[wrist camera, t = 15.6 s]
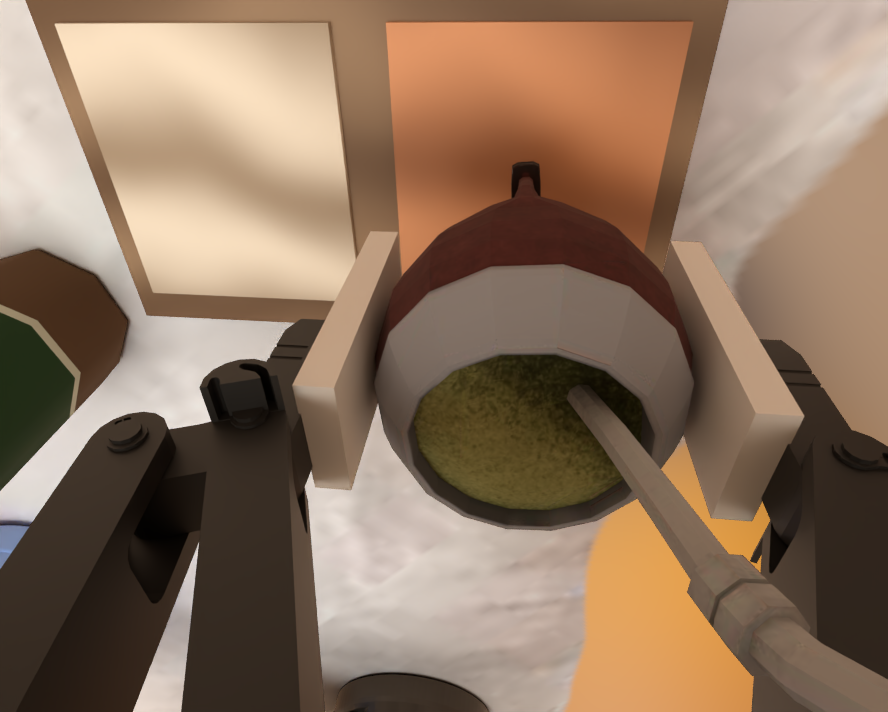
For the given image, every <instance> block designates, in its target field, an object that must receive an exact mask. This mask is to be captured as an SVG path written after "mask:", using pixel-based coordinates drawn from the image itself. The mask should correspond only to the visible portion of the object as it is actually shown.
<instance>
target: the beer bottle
mask: <svg viewBox="0 0 888 712" xmlns="http://www.w3.org/2000/svg"><path fill="white" fill-rule="evenodd" d="M127 321H128V320H127V319H126V317H125V316H124V315H123V313H122V312H121V311H120V309H119V308H118V306H117V305H116V304H115V302H114V301H113V299H112V298H111V297H110V295H109V294H108V293H107V291H106V290H105V288H104V287H103V286H102V284H101V283H100V282H99V280H98V279H97V277H96V276H95V275H93V274H90V273H88V272H86V271H84V270H82V269H80V268H77V267H75V266H73V265H71V264H69V263H67V262H64V261H62V260H60V259H58V258H56V257H53V256H51V255H49V254H47V253H45V252H43V251H40V250H32V251H29V252H25V253H22V254H18V255H15V256H11V257H8V258H5V259H1V260H0V491H1V490H2V488H3V487H4V486H5V485H6V484H7V483H8V482H9V481H10V480H11V479H12V478H13V477H14V476H15V475H16V474H17V473H18V471H19V470H20V469H21V468H22V467H23V466H24V465H25V464H26V463H27V462H28V461H29V460H30V459H31V458H32V457H33V456H34V455H35V453H36V452H37V451H38V450H39V449H40V448H41V447H42V446H43V445H44V444H45V443H46V442H47V441H48V440H49V439H50V438H51V437H52V435H53V434H54V433H55V432H56V431H57V430H58V429H59V428H60V427H61V426H62V425H63V424H64V423H65V422H66V421H67V420H68V419H69V417H70V416H71V415H72V414H73V413H74V412H75V411H76V410H77V409H78V408H79V407H80V406H81V405H82V404H83V403H84V402H85V401H86V399H87V398H88V397H89V396H90V395H91V394H92V393H93V392H94V391H95V390H96V389H97V388H98V387H99V386H100V385H101V384H102V382H103V381H104V380H105V379H106V378H107V376H108V375H109V374H110V373H111V371H112V370H113V369H114V368H115V366H116V365H117V364H118V363H119V361H120V356H121V351H122V346H123V341H124V337H125V332H126V327H127Z"/></svg>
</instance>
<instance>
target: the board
mask: <svg viewBox="0 0 888 712" xmlns="http://www.w3.org/2000/svg"><path fill="white" fill-rule="evenodd" d="M26 3H27V5H28V8H29V11H30V13H31V16H32V18H33V21H34V24H35V26H36V29H37V31H38V34H39V37H40V39H41V42H42V44H43V47H44V50H45V52H46V55H47V57H48V60H49V63H50V65H51V68H52V70H53V73H54V76H55V78H56V81H57V83H58V86H59V89H60V91H61V94H62V96H63V99H64V102H65V104H66V107H67V109H68V112H69V114H70V117H71V120H72V122H73V125H74V127H75V130H76V133H77V135H78V138H79V140H80V143H81V146H82V148H83V151H84V153H85V156H86V159H87V161H88V164H89V166H90V169H91V172H92V174H93V177H94V179H95V182H96V185H97V187H98V190H99V192H100V195H101V198H102V200H103V203H104V205H105V208H106V211H107V213H108V216H109V218H110V221H111V224H112V226H113V229H114V231H115V234H116V236H117V239H118V242H119V244H120V247H121V249H122V252H123V255H124V257H125V260H126V262H127V265H128V268H129V270H130V273H131V275H132V278H133V281H134V283H135V286H136V288H137V291H138V294H139V296H140V299H141V301H142V304H143V307H144V309H145V312H146V314H147V315H149V316H169V317H190V318H211V319H231V320H252V321H272V322H293V323H296V322H297V321H298V320H300V319H318V320H326V318H327V316H328V314H329V312H330V310H331V308H332V306H333V304H334V302H335V300H336V298H337V296H338V294H339V292H340V290H341V288H342V286H343V284H344V282H345V280H346V278H347V276H348V275H349V273H350V271H351V269H352V267H353V265H354V263H355V261H356V259H357V257H358V255H359V253H360V251H361V249H362V247H363V245H364V243H365V241H366V239H367V237H368V235H369V233H370V231H380V232H398V238H399V253H400V268H401V277H402V275H403V274H404V273H405V272H406V271H407V269H408V268H409V267H410V266H411V265H412V264H413V263H414V262H415V261H416V259H417V258H418V257H419V256H420V255H421V254H422V253H423V252H424V250H425V249H426V248H427V247H428V246H429V245H430V244H431V243H432V242H433V240H434V239H435V238H436V237H437V236H438V235H439V234H440V233H442V232H443V231H445V230H446V229H447V228H449V227H451V226H452V225H454V224H456V223H458V222H460V221H462V220H464V219H466V218H468V217H470V216H472V215H474V214H475V213H477V212H479V211H481V210H483V209H485V208H487V207H489V206H491V205H493V204H496V203H499V202H502V201H505V200H508V199H511V177H512V165H514V164H515V163H517V162H528V161H534V162H536V163H538V164H539V166H540V180H541V197H544V198H548V199H552V200H556V201H559V202H563V203H565V204H567V205H570V206H572V207H574V208H577V209H579V210H582V211H584V212H586V213H589V214H591V215H594V216H596V217H598V218H601V219H603V220H605V221H607V222H609V223H610V224H612V225H614V226H615V227H617V228H618V229H619V230H620V231H621V232H622V233H623V234H624V235H625V236H626V237H627V238H628V239H629V240H630V241H631V242H632V243H633V244H634V245H635V246H636V247H637V248H638V249H640V250H641V251H642V252H643V253H644V254H645V255H646V256H647V257H648V258H649V259H650V260H651V261H652V262H653V263H654V264H655V265H656V266H657V267H658V269H659V270H660V271H661V273H662V272H663V268H664V263H665V259H666V255H667V251H668V247H669V243H670V239H671V235H672V231H673V226H674V222H675V218H676V214H677V210H678V206H679V202H680V198H681V194H682V189H683V185H684V181H685V177H686V173H687V169H688V165H689V161H690V157H691V152H692V148H693V144H694V140H695V136H696V132H697V128H698V124H699V120H700V115H701V111H702V107H703V103H704V99H705V95H706V91H707V87H708V83H709V78H710V74H711V70H712V66H713V62H714V58H715V54H716V50H717V46H718V41H719V37H720V33H721V29H722V25H723V21H724V17H725V13H726V9H727V4H728V0H26Z"/></svg>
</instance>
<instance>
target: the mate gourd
mask: <svg viewBox="0 0 888 712" xmlns="http://www.w3.org/2000/svg"><path fill="white" fill-rule="evenodd" d="M692 358H693V354H692V350H691V346H690V343H689V339H688V335H687V332H686V329H685V326H684V324H683V321H682V318H681V315H680V313H679V310H678V307H677V304H676V302H675V299H674V296H673V293H672V291H671V288H670V285H669V283H668V281H667V280H666V279H665V277H664V276H663V274H662V273H661V271H660V270H659V269H658V267H657V266H656V265H655V264H654V263H653V262H652V261H651V260H650V259H649V258H648V257H647V256H646V255H645V254H644V253H643V252H642V251H641V250H640V249H638V248H637V247H636V246H635V245H634V244H633V243H632V242H631V241H630V240H629V239H628V238H627V237H626V236H625V235H624V234H623V233H622V232H621V231H620V230H619V229H618V228H617V227H615V226H614V225H612V224H610V223H609V222H607V221H605V220H603V219H601V218H598V217H596V216H594V215H591V214H589V213H586V212H584V211H582V210H579V209H577V208H574V207H572V206H570V205H567V204H565V203H563V202H559V201H556V200H552V199H548V198H544V197H541V180H540V166H539V164H538V163H536V162H534V161H528V162H517V163H515V164H514V165H512V177H511V199H508V200H505V201H502V202H499V203H496V204H493V205H491V206H489V207H487V208H485V209H483V210H481V211H479V212H477V213H475V214H474V215H472V216H470V217H468V218H466V219H464V220H462V221H460V222H458V223H456V224H454V225H452V226H451V227H449V228H447V229H446V230H445V231H443V232H442V233H440V234H439V235H438V236H437V237H436V238H435V239H434V240H433V242H432V243H431V244H430V245H429V246H428V247H427V248H426V249H425V250H424V252H423V253H422V254H421V255H420V256H419V257H418V258H417V259H416V261H415V262H414V263H413V264H412V265H411V266H410V267H409V268H408V269H407V271H406V272H405V273H404V274H403V275H402V277H401V278H400V280H399V281H398V283H397V284H396V286H395V287H394V289H393V291H392V294H391V298H390V301H389V304H388V308H387V311H386V315H385V318H384V321H383V325H382V328H381V332H380V336H379V340H378V344H377V349H376V354H375V364H376V377H375V380H374V386H375V391H376V395H377V400H378V405H379V409H380V414H381V419H382V424H383V428H384V432H385V434H386V436H387V439H388V441H389V443H390V445H391V447H392V449H393V450H394V451H395V453H396V454H397V455H398V457H399V458H400V459H401V461H402V462H403V463H404V465H405V466H406V467H407V469H408V470H409V471H410V472H411V474H412V475H413V476H414V478H415V479H416V480H417V482H418V483H419V484H420V485H421V487H422V488H423V489H424V491H425V492H426V493H427V494H428V495H430V496H432V497H433V498H435V499H436V500H438V501H439V502H441V503H443V504H444V505H446V506H447V507H449V508H451V509H452V510H454V511H455V512H457V513H458V514H460V515H462V516H464V517H467V518H470V519H474V520H477V521H481V522H484V523H488V524H491V525H495V526H498V527H501V528H505V529H522V530H549V531H552V530H556V529H561V528H566V527H570V526H575V525H580V524H584V523H589V522H593V521H597V520H599V519H601V518H603V517H604V516H606V515H608V514H610V513H612V512H614V511H615V510H617V509H619V508H621V507H623V506H625V505H626V504H628V503H630V502H632V501H634V500H635V499H638V500H639V502H640V503H641V504H642V506H643V508H644V509H645V511H646V512H647V514H648V515H649V516H650V518H651V519H652V521H653V522H654V524H655V526H656V527H657V529H658V530H659V532H660V533H661V535H662V536H663V538H664V539H665V541H666V542H667V544H668V545H669V547H670V549H671V550H672V552H673V553H674V555H675V556H676V558H677V559H678V561H679V562H680V564H681V565H682V567H683V569H684V570H685V572H686V573H687V575H688V576H689V578H690V579H691V581H690V584H689V588H688V591H687V593H688V594H689V595H690V597H691V598H692V599H693V601H694V602H695V604H696V605H697V606H698V608H699V609H700V611H701V612H702V613H703V614H704V616H705V617H706V619H707V620H708V621H709V623H710V624H711V625H712V627H713V628H714V629H715V631H716V632H717V633H718V635H719V636H720V637H721V639H722V640H723V641H724V643H725V644H726V645H727V647H728V648H729V649H730V650H731V652H732V653H733V654H734V655H735V656H736V658H737V659H738V660H739V661H740V662H741V664H742V665H743V666H744V667H745V668H746V670H747V671H748V672H749V673H750V674H751V675H752V676H770V677H771V678H772V679H773V680H774V681H775V682H776V683H777V684H778V685H779V686H780V687H781V688H782V689H783V690H784V691H785V692H786V693H787V694H788V695H790V696H791V697H792V698H793V699H794V700H795V701H796V702H798V703H800V704H801V705H803V706H804V707H806V708H808V709H809V710H811V711H812V712H888V679H886V678H884V677H882V676H880V675H879V674H877V673H875V672H873V671H871V670H869V669H868V668H866V667H864V666H862V665H860V664H858V663H857V662H855V661H853V660H851V659H849V658H847V657H846V656H844V655H842V654H840V653H838V652H836V651H835V650H833V649H831V648H829V647H827V646H825V645H824V644H822V643H820V642H819V641H818V640H817V639H815V638H814V637H813V636H812V635H810V634H809V631H810V626H809V625H808V623H807V622H806V620H805V619H804V617H803V616H802V614H801V613H800V612H799V610H798V609H797V607H796V606H795V605H794V604H793V603H792V602H791V601H790V600H789V599H788V598H786V597H785V596H784V595H783V594H782V593H781V592H780V591H779V590H778V589H777V588H776V587H775V586H773V585H772V584H769V582H768V581H767V579H766V578H765V577H764V576H763V575H762V574H761V573H760V572H759V571H758V570H757V569H756V568H755V567H754V566H753V565H752V564H751V563H750V562H749V561H748V560H747V559H746V558H745V557H744V556H743V555H730V554H728V552H727V551H726V550H725V549H724V547H722V545H721V544H720V542H719V541H718V540H717V539H716V538H715V536H714V535H713V534H712V532H711V531H710V530H709V529H708V527H707V526H706V525H705V524H704V522H703V521H702V520H701V519H700V517H699V516H698V515H697V514H696V513H695V511H694V510H693V509H692V508H691V506H690V505H689V504H688V502H687V501H686V500H685V499H684V497H683V496H682V495H681V494H680V493H679V491H678V490H677V489H676V488H675V486H674V485H673V484H672V483H671V481H670V480H669V479H668V478H667V477H666V475H665V474H664V473H663V472H662V470H661V468H662V467H663V465H664V464H665V463H666V461H667V460H668V459H669V457H670V456H671V455H672V453H673V452H674V450H675V448H676V447H677V445H678V443H679V442H680V440H681V438H682V436H683V434H684V429H685V424H686V420H687V415H688V410H689V406H690V401H691V396H692V392H693V387H694V380H693V377H692Z"/></svg>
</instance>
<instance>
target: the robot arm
mask: <svg viewBox="0 0 888 712" xmlns="http://www.w3.org/2000/svg"><path fill="white" fill-rule="evenodd" d="M663 276H664V277H665V279H666V280H667V281H668V283H669V285H670V288H671V291H672V293H673V296H674V299H675V302H676V304H677V307H678V310H679V313H680V315H681V318H682V321H683V324H684V326H685V329H686V332H687V335H688V339H689V343H690V346H691V350H692V354H693V358H692V377H693V380H694V387H693V392H692V396H691V401H690V406H689V410H688V415H687V420H686V424H685V429H684V437H685V440H686V444H687V447H688V450H689V452H690V456H691V459H692V462H693V465H694V468H695V471H696V474H697V477H698V480H699V483H700V486H701V489H702V492H703V495H704V498H705V501H706V504H707V507H708V510H709V513H710V516H711V518H716V519H729V520H743V521H752V520H753V519H754V516H755V514H756V513H757V510H758V509H759V507H760V505H761V502H762V501H763V504H764V506H765V508H766V511H767V513H768V515H769V517H770V522H769V524H768V526H767V528H766V530H765V532H764V534H763V536H762V537H761V539H760V541H759V543H758V545H757V547H756V549H755V551H754V552H753V555H752V557H751V560H750V561H751V562H754V563H757V561H758V560H759V558H760V556H761V555H762V559H761V574H762V575H763V576H764V577H765V578H766V579H767V581H768V582H769V584H772V585H773V586H775V587H776V588H777V589H778V590H779V591H780V592H781V593H782V594H783V595H784V596H785V597H786V598H788V599H789V600H790V601H791V602H792V603H793V604H794V605H795V606H796V607H797V609H798V610H799V612H800V613H801V614H802V616H803V617H804V619H805V620H806V622H807V623H808V625H809V626H810V631H809V634H810V635H812V636H813V637H814V638H815V639H817V640H818V641H819V642H820V643H822V644H824V645H825V646H827V647H829V648H831V649H833V650H835V651H836V652H838V653H840V654H842V655H844V656H846V657H847V658H849V659H851V660H853V661H855V662H857V663H858V664H860V665H862V666H864V667H866V668H868V669H869V670H871V671H873V672H875V673H877V674H879V675H880V676H882V677H884V678H886V679H888V446H886V445H884V444H883V443H881V442H879V441H877V440H876V439H874V438H872V437H870V436H867V435H865V434H862V433H859V432H856V431H852V430H851V429H850V427H849V426H848V424H847V423H846V421H845V420H844V418H843V417H842V415H841V414H840V412H839V411H838V409H837V408H836V406H835V405H834V403H833V402H832V401H831V399H830V397H829V396H828V395H827V393H826V391H825V390H824V389H823V388H821V387H820V385H821V384H820V382H819V381H818V380H817V378H816V377H815V375H814V374H812V371H811V369H810V368H809V366H808V365H807V363H806V362H805V360H804V359H803V357H802V356H801V355H800V354H799V353H798V352H796V351H795V350H794V349H792V348H791V347H790V346H788V345H787V344H786V343H784V342H783V341H781V340H761V339H758V337H757V335H756V334H755V332H754V330H753V329H752V327H751V325H750V324H749V322H748V320H747V319H746V317H745V315H744V314H743V312H742V310H741V308H740V307H739V305H738V303H737V302H736V300H735V298H734V297H733V295H732V293H731V292H730V290H729V288H728V287H727V285H726V283H725V282H724V280H723V278H722V277H721V275H720V273H719V271H718V270H717V268H716V266H715V265H714V263H713V261H712V260H711V258H710V256H709V255H708V253H707V251H706V250H705V248H704V246H703V245H702V243H701V242H682V241H670V245H669V249H668V253H667V257H666V262H665V266H664V270H663ZM400 278H401V268H400V253H399V238H398V232H380V231H370V233H369V235H368V237H367V239H366V241H365V243H364V245H363V247H362V249H361V251H360V253H359V255H358V257H357V259H356V261H355V263H354V265H353V267H352V269H351V271H350V273H349V275H348V276H347V278H346V280H345V282H344V284H343V286H342V288H341V290H340V292H339V294H338V296H337V298H336V300H335V302H334V304H333V306H332V308H331V310H330V312H329V314H328V316H327V318H326V320H318V319H300V320H298V321H297V322H296V323H294V324H293V325H292V326H290V327H289V328H288V329H286V330H285V332H284V333H283V335H282V337H281V338H280V340H279V342H278V343H277V347H275V348H274V350H273V352H272V353H271V355H270V358H268V360H267V362H265V361H260V360H256V359H245V360H237V361H233V362H230V363H226V364H224V365H222V366H220V367H218V368H216V369H214V370H213V371H211V372H210V373H209V374H208V375H207V376H206V377H205V378H204V379H203V381H202V384H201V386H200V390H201V393H202V396H203V399H204V402H205V404H206V407H207V410H208V413H209V416H210V418H211V421H212V422H208V423H204V424H200V425H194V426H188V427H182V428H176V429H170V430H169V429H168V427H167V424H166V422H165V420H164V418H162V417H161V416H159V415H157V414H156V413H148V412H139V413H132V414H127V415H124V416H122V417H119V418H116V419H113V420H112V421H110V422H109V423H107V424H105V425H104V426H102V427H101V428H99V430H98V431H97V432H96V433H95V434H94V435H93V436H92V437H91V438H90V439H89V441H88V442H87V444H86V445H85V447H84V448H83V450H82V451H81V452H80V454H79V455H78V457H77V458H76V460H75V461H74V463H73V464H72V466H71V467H70V468H69V470H68V471H67V473H66V474H65V476H64V477H63V479H62V480H61V482H60V483H59V484H58V486H57V487H56V489H55V490H54V492H53V493H52V495H51V496H50V498H49V499H48V500H47V502H46V503H45V505H44V506H43V508H42V509H41V511H40V512H39V513H38V515H37V516H36V518H35V519H34V521H33V522H32V524H31V525H30V527H29V528H28V529H27V531H26V532H25V534H24V535H23V537H22V538H21V540H20V541H19V543H18V544H17V545H16V547H15V548H14V550H13V551H12V553H11V554H10V556H9V557H8V559H7V560H6V561H5V563H4V564H3V566H2V567H1V569H0V712H133V709H134V707H135V704H136V702H137V699H138V697H139V694H140V691H141V689H142V686H143V684H144V681H145V679H146V676H147V673H148V671H149V668H150V666H151V663H152V661H153V658H154V656H155V653H156V650H157V648H158V645H159V643H160V640H161V638H162V635H163V632H164V630H165V627H166V625H167V622H168V620H169V617H170V614H171V612H172V609H173V607H174V604H175V602H176V599H177V597H178V594H179V591H180V589H181V586H182V584H183V581H184V579H185V576H186V573H187V571H188V568H189V566H190V563H191V561H192V558H193V555H194V553H195V550H196V548H197V545H198V543H199V549H198V558H197V568H196V577H195V587H194V596H193V606H192V615H191V624H190V634H189V643H188V653H187V662H186V672H185V681H184V691H183V700H182V709H181V712H325V707H324V695H323V682H322V670H321V658H320V645H319V633H318V621H317V608H316V596H315V583H314V571H313V559H312V546H311V534H310V522H309V509H308V499H307V495H306V491H305V484H306V482H307V479H308V477H309V474H310V472H311V471H312V475H313V480H314V484H315V487H318V488H331V489H344V490H351V489H352V486H353V483H354V479H355V476H356V473H357V469H358V466H359V463H360V460H361V456H362V453H363V450H364V446H365V443H366V440H367V437H368V433H369V430H370V427H371V424H372V420H373V417H374V414H375V410H376V407H377V404H378V400H377V395H376V391H375V386H374V380H375V377H376V364H375V354H376V349H377V344H378V340H379V336H380V332H381V328H382V325H383V321H384V318H385V315H386V311H387V308H388V304H389V301H390V298H391V294H392V291H393V289H394V287H395V286H396V284H397V283H398V281H399V280H400ZM334 712H489V711H488V710H487V708H486V707H485V706H484V704H483V703H482V702H480V701H479V700H478V699H477V698H475V697H474V696H472V695H471V694H469V693H467V692H466V691H464V690H462V689H459V688H457V687H455V686H452V685H449V684H447V683H443V682H440V681H436V680H432V679H428V678H423V677H417V676H409V675H375V676H369V677H364V678H360V679H357V680H354V681H352V682H350V683H348V684H347V685H345V686H344V687H343V688H342V689H341V690H340V692H339V694H338V697H337V701H336V706H335V710H334ZM752 712H812V711H811V710H809V709H808V708H806V707H804V706H803V705H801V704H800V703H798V702H796V701H795V700H794V699H793V698H792V697H791V696H790V695H788V694H787V693H786V692H785V691H784V690H783V689H782V688H781V687H780V686H779V685H778V684H777V683H776V682H775V681H774V680H773V679H772V678H771V677H770V676H754V684H753V699H752Z"/></svg>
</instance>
